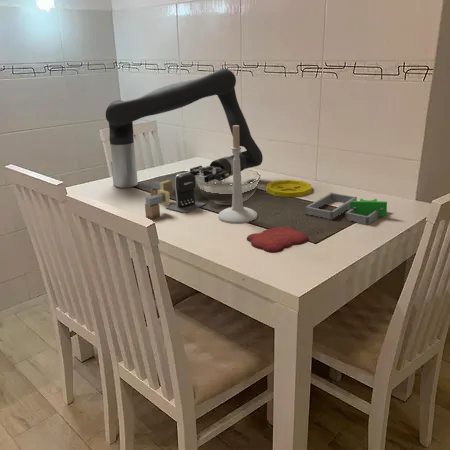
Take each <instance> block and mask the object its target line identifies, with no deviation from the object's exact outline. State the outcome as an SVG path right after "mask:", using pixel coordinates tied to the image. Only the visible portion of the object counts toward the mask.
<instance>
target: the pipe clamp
mask: <svg viewBox="0 0 450 450" xmlns="http://www.w3.org/2000/svg"><path fill="white" fill-rule="evenodd" d="M354 207H356V209H355V210H354V214H359V215H364V216H368V215H369V214H371V213H372V212H374V211H375V210H378V216H379V217H387V214H388V211H387V210H388V201H386V200H385V201H381V200H380V201H378V199H377V198H374V199H372V200H367V199H363V198H360V199H359V200H357V201H350V209H353V208H354ZM380 208H383V210H380ZM350 209H349V210H350Z"/></svg>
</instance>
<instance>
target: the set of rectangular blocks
mask: <svg viewBox="0 0 450 450" xmlns="http://www.w3.org/2000/svg"><path fill="white" fill-rule="evenodd" d="M150 186H151V188H150V189H149V191H150V196H147V197H145V204H144V210H145V217H146V218H149V219H151V220H155V219H159V218H161V210H160V209H161V208H160V205H163V206H166V207H168V206H171V200H170V199H171V198H170V194H171V193H173V180H170V179H167V180H164V181H158V180H155V181H152V182H151V183H150Z"/></svg>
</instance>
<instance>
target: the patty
mask: <svg viewBox="0 0 450 450" xmlns="http://www.w3.org/2000/svg"><path fill="white" fill-rule="evenodd" d="M246 241H247V242H249V243H250V246H251V247H253V248H255V249H257V250H262V251H264V252H265V253H266V252H267V253H271V254H277V253H281V252H283V251H284V250H285V249H290V248H292V246H298V245H300V246H301V245H303V244H305V243H307V242H309V236H308V235H307V234H306V233H305V232H303V231H299V230H296V229H295V228H294V227H292V226H275V227H272V228H267V229H265V230H263V231H261V232H258V233H251V234H249V235H247V237H246Z"/></svg>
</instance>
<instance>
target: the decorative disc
mask: <svg viewBox="0 0 450 450" xmlns="http://www.w3.org/2000/svg"><path fill="white" fill-rule="evenodd" d="M265 189H266V191H265V192H266V193H268V194H270V195H272V196H274V197H284V198H295V197H296V198H297V197H305V196H306V195H310V194H311V193H312V190H313V189H312V184H311V183H309V182H307V181H303V180H298V179H281V180H274V181H271V182H267V183H266V188H265Z"/></svg>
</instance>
